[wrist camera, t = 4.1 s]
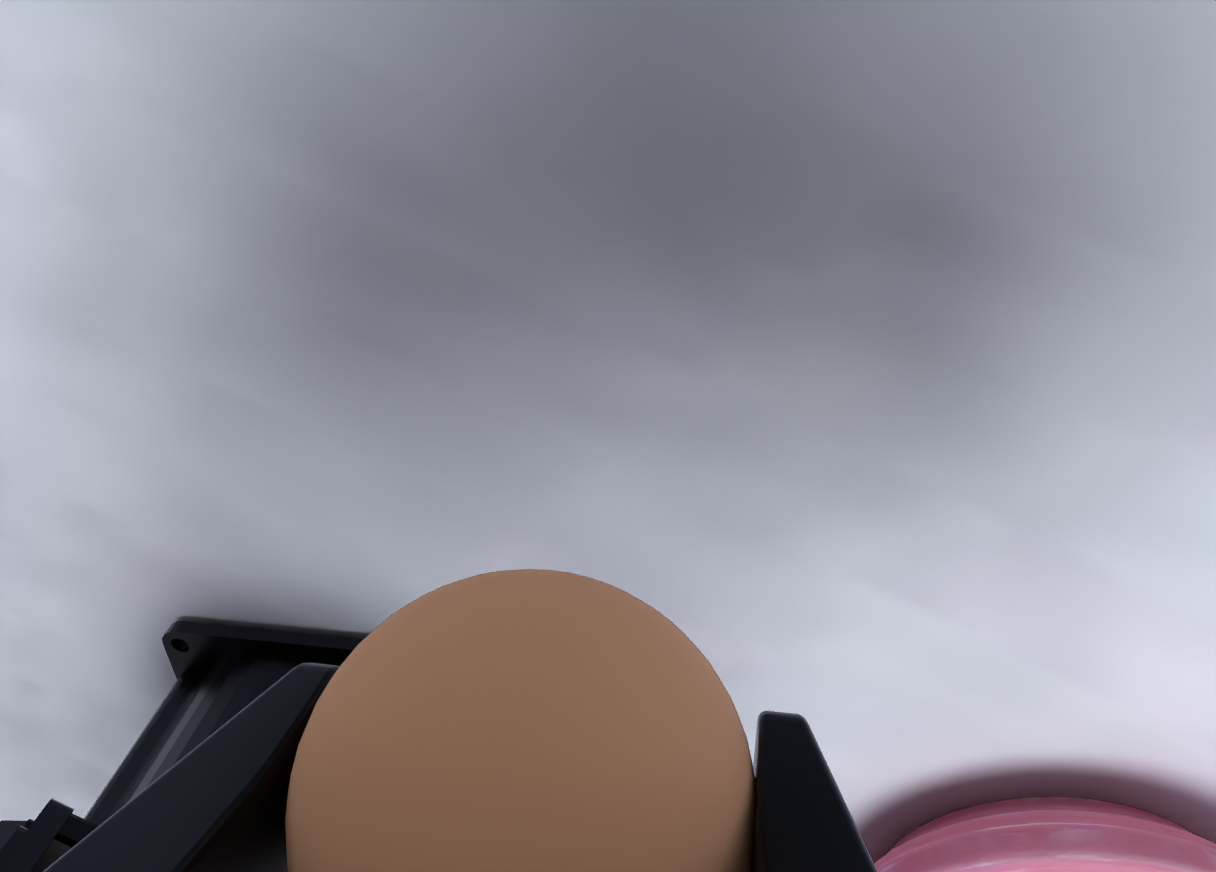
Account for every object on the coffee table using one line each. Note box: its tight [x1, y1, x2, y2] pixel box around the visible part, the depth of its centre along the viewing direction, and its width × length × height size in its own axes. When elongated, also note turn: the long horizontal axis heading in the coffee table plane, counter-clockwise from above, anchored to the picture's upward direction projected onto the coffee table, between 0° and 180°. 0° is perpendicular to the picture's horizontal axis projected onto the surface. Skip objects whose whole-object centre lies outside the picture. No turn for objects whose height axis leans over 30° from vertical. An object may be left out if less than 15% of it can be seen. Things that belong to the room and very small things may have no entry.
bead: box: [285, 569, 756, 872], centre depth 8 cm, size 4×4×4 cm
